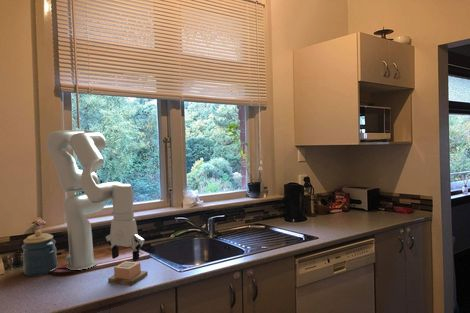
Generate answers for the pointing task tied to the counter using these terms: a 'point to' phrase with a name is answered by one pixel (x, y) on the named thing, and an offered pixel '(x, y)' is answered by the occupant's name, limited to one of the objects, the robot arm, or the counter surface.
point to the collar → (127, 270)
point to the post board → (128, 281)
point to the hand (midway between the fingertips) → (125, 258)
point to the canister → (39, 254)
